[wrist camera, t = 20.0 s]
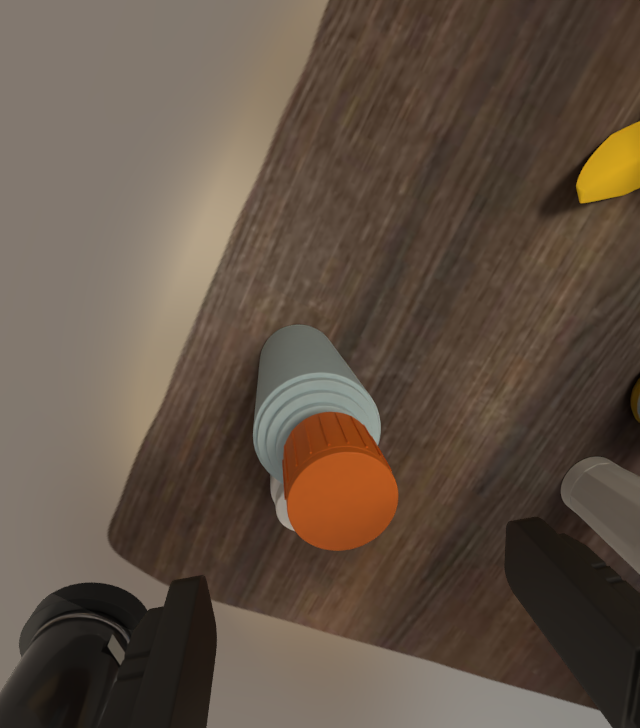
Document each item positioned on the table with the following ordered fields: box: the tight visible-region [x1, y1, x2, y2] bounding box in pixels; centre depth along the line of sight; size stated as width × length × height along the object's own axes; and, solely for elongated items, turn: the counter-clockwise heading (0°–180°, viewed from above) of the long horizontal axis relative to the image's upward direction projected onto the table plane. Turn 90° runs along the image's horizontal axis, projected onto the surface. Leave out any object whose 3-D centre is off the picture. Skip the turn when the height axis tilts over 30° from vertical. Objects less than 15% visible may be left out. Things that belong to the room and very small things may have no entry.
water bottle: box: [253, 325, 381, 484], centre depth 23 cm, size 6×6×20 cm
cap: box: [282, 412, 398, 551], centre depth 15 cm, size 4×4×4 cm
